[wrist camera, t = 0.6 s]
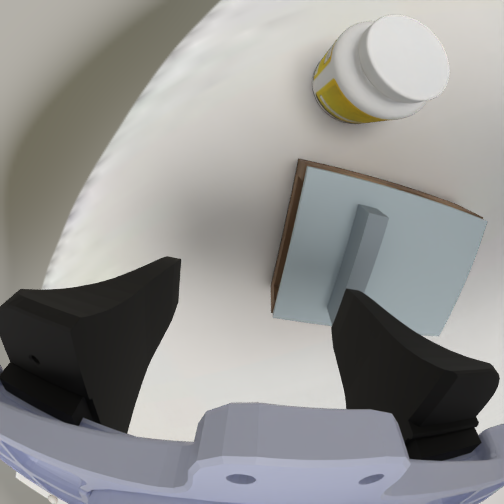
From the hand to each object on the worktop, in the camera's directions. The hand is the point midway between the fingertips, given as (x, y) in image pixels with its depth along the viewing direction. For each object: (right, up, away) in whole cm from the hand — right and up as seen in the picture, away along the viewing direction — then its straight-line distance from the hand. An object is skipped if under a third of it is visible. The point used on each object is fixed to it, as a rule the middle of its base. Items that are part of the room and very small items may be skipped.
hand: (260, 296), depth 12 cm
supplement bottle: (+6, +13, +6) cm, 16 cm away
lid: (+9, +1, +6) cm, 11 cm away
